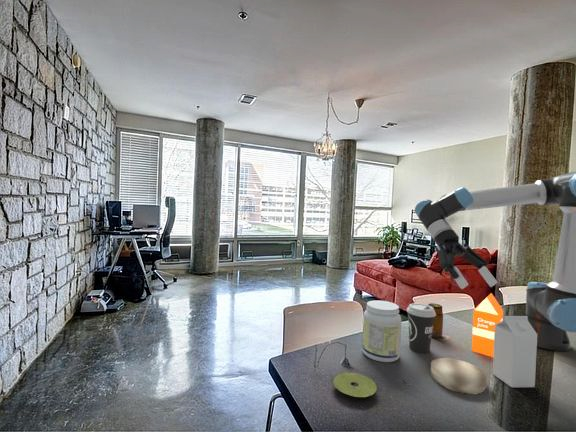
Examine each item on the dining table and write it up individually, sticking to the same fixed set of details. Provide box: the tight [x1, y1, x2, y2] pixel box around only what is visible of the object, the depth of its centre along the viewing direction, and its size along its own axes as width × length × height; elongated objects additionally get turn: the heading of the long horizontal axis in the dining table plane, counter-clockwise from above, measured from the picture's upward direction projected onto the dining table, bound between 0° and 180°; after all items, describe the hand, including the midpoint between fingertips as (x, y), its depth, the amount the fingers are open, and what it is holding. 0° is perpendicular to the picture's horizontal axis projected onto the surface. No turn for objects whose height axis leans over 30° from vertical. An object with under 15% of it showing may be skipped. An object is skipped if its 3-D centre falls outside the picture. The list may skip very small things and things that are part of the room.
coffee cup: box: [406, 302, 436, 354], centre depth 108 cm, size 10×10×15 cm
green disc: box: [332, 372, 378, 398], centre depth 81 cm, size 11×11×2 cm
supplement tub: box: [362, 299, 402, 363], centre depth 102 cm, size 12×12×17 cm
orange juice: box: [471, 292, 504, 358], centre depth 108 cm, size 8×9×20 cm
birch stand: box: [430, 357, 487, 395], centre depth 88 cm, size 14×14×3 cm
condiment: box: [427, 303, 451, 342], centre depth 120 cm, size 7×8×12 cm
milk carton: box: [492, 315, 538, 388], centre depth 89 cm, size 7×7×19 cm
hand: (479, 285), depth 98 cm, fingers open, 13 cm apart
